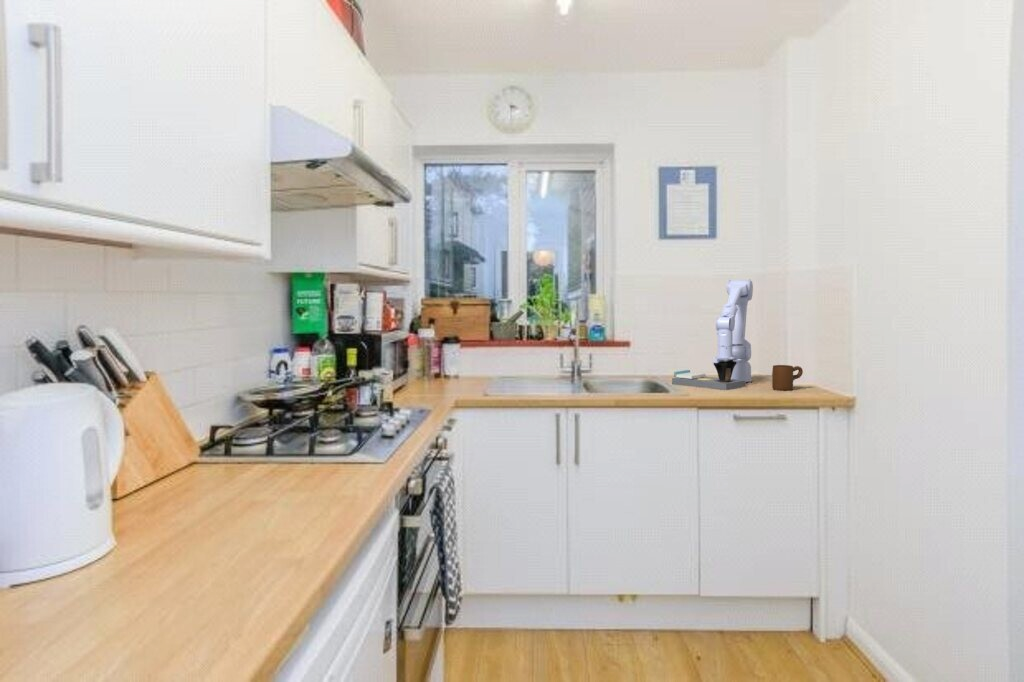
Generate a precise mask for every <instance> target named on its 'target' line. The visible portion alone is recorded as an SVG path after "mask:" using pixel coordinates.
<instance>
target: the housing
mask: <svg viewBox="0 0 1024 682" xmlns="http://www.w3.org/2000/svg"><path fill="white" fill-rule="evenodd" d="M671 384H672V385H678V386H688V387H695V388H697V387H698V388H705V389H711V390H712V389H713V390H714V389H715V390H721V391H722V390H723V391H728V390H735V389H738V388H744V387H746V382H745V380H735V379H731V380H730V382H720V380H719V377H713V376H706V377H700V378H694V379H689V378H679V377H672V378H671Z"/></svg>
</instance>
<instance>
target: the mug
mask: <svg viewBox="0 0 1024 682" xmlns="http://www.w3.org/2000/svg"><path fill="white" fill-rule="evenodd" d="M771 371H772V373H771V374H772V376H771V377H772V378H771V381H772V386H771V387H772V390H775V391H782V392H783V391H784V392H787V391H789V392H790V391H792V390H793V389H794V381H795V380H797V379H800V378H801V377H802V375H803V372H804V371H803V368H802V366H798V365H795V366H793V365H789V364H788V365H787V364H776V365H772V370H771ZM795 371H798V372H797V374H794V372H795Z"/></svg>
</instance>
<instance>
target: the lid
mask: <svg viewBox="0 0 1024 682" xmlns="http://www.w3.org/2000/svg"><path fill="white" fill-rule="evenodd" d="M706 375H707V374H706V373H699V372H692V371H691V370H690V369H685V370H684V369H683V370H678V371H673V378H677V377H679V378H689V379H694V378H700V377H707V376H706Z"/></svg>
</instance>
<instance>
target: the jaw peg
mask: <svg viewBox="0 0 1024 682" xmlns="http://www.w3.org/2000/svg"><path fill="white" fill-rule="evenodd" d="M730 380H731V368H726V373H725V380H720V382H730Z"/></svg>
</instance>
